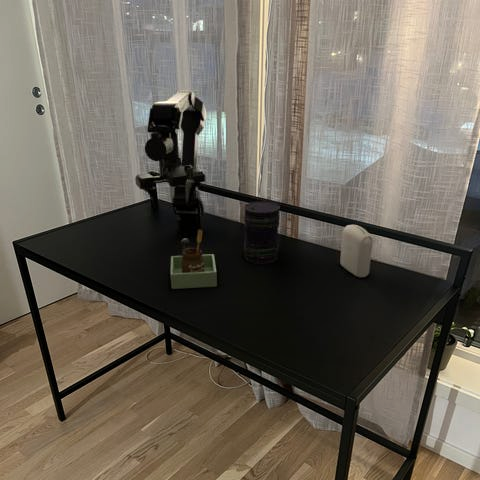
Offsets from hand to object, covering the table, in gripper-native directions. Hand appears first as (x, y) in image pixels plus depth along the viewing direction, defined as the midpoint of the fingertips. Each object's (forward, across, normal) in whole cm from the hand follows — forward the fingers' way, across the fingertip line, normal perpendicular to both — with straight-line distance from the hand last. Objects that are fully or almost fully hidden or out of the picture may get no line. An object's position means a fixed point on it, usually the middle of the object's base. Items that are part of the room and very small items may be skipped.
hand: (172, 208), depth 147 cm
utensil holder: (+13, -1, -20) cm, 24 cm away
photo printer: (+13, +40, -34) cm, 54 cm away
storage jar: (+13, +21, -15) cm, 29 cm away
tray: (+13, -1, -20) cm, 24 cm away
